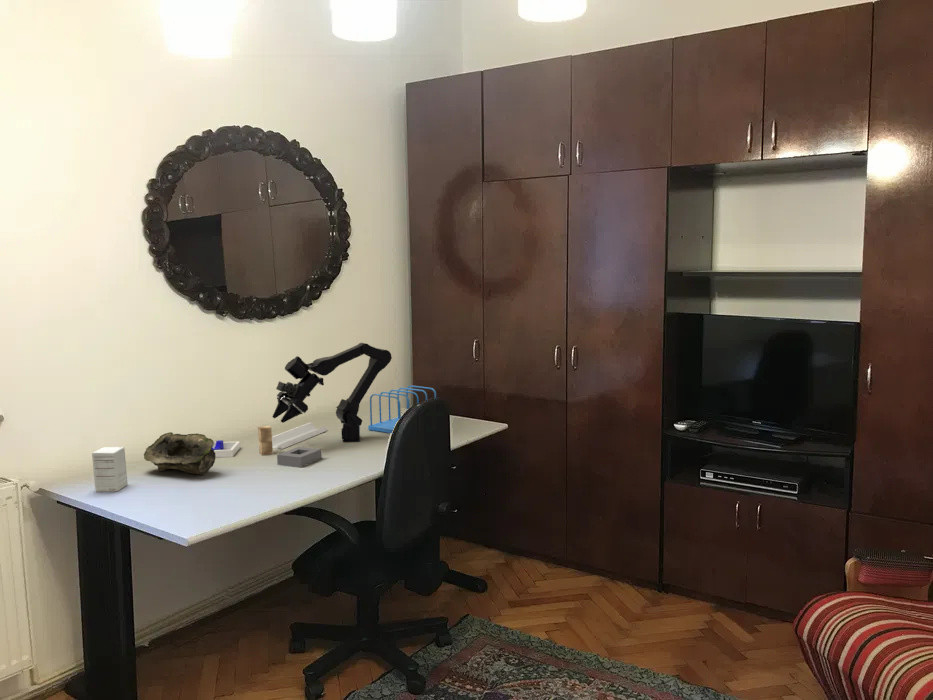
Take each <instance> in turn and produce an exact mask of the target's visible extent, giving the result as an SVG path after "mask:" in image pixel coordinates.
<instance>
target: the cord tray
mask: <svg viewBox="0 0 933 700" xmlns="http://www.w3.org/2000/svg"><path fill="white" fill-rule="evenodd" d="M213 442H214V441H213ZM215 445H216V441H215V442H214V444H213V448H214V447H215ZM223 446H224V450H214V452H215V453H216V454H215V455H216V457H215V459H216V458H233V457H235V455H236V454H237V453H238V451H239V450H240V449H241V441H223Z"/></svg>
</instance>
